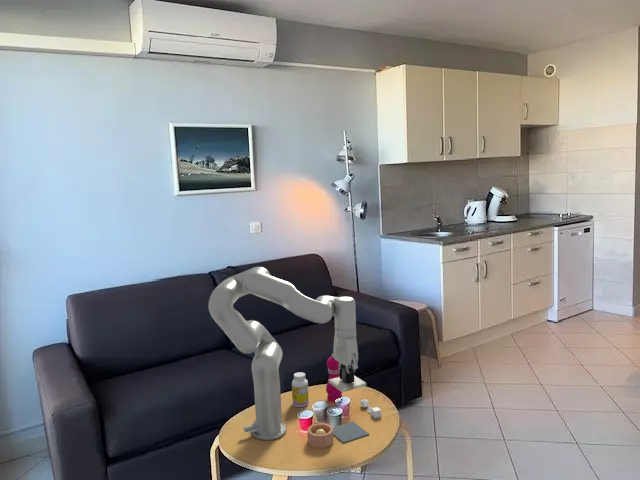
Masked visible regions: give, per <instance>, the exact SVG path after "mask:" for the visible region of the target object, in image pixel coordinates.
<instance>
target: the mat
mask: <svg viewBox="0 0 640 480" xmlns="http://www.w3.org/2000/svg"><path fill="white" fill-rule="evenodd" d="M332 427H333V437H334V436H335V438H336V439H337V440H339V441H340V442H341V443H342V444H346V443H348V442H352V441H354V440H358V439H360V438H363V437H364V438H365V437H366V436H369V435H370V433H369V432H367V430H365V429H363V428H362V427H361V426H360V425H358V424H357V423H356V422H355V421H353V420H352V421H350V422H345V423H343V424H339V425H336V426H332Z"/></svg>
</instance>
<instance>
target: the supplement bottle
mask: <svg viewBox="0 0 640 480" xmlns="http://www.w3.org/2000/svg"><path fill="white" fill-rule="evenodd" d="M291 392H292V405H293V406H295V407H298V408H303V407H306V406H308V404H309V402H310V401H309V382H308V379H306V373H305V372H302V371H301V372H295V373H293V380H292V382H291Z"/></svg>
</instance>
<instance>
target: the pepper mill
mask: <svg viewBox="0 0 640 480" xmlns="http://www.w3.org/2000/svg"><path fill="white" fill-rule="evenodd" d="M326 366H327V373H328V375H329V376H328V380H329V379H333V378H337V377H340V369H341V368H339V363H338V361H337V360H335V359H334V352H333V353H331V355H330V356H329V358H327V360H326ZM325 392H326V394H327V397H326V398H327V401H328V402H329V401H331V402H330V403H334V402H335V400H336V399H338V398H341V397H342V398H343V394H342V393H343V392H341V391H340V390H338V389H337V388H336V387H334V386H333V385H331V384H330V383H329V382H328V381H327V383H326V386H325ZM335 403H336V402H335Z"/></svg>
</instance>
